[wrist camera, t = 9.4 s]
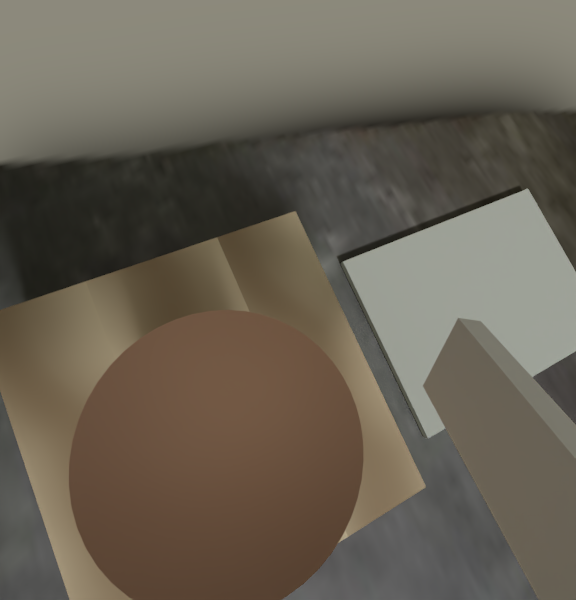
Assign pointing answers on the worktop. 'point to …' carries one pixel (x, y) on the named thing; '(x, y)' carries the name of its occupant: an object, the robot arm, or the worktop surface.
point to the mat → (468, 293)
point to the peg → (216, 461)
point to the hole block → (152, 314)
